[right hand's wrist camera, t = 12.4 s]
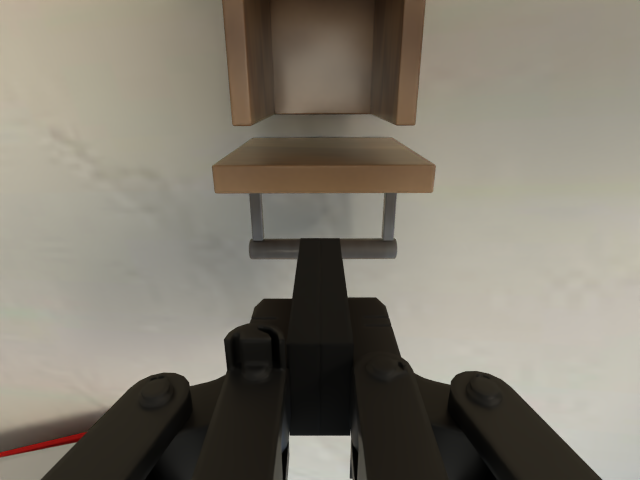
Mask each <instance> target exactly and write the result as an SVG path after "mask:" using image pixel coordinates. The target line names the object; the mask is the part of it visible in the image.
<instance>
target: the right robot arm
mask: <svg viewBox="0 0 640 480" xmlns="http://www.w3.org/2000/svg"><path fill="white" fill-rule="evenodd" d="M224 344H225V353H226V363H227V373H226V375H224V376H222V377H220V378H218V379H216V380H213V381H210V382H207V383H202V384H198V385H194V386H190V385H189V382H188V381H187V379H186V378H185V377H184V376H182V375H179V374H176V373H160V374H156V375H151V376H149V377H147V378H145V379H142V380H140V381H139V382H137V383H136V384H135V385H133V386H132V387H131V388H130V389H129V390H128V391H127V392H126V393H125V394H124V395H123V396H122V397H121V398H120V399H119V400H118V401H117V402H116V403H115V404H114V405H113V406H112V407H111V408H110V409H109V410H108V411H107V412H106V413H105V414H104V415H103V416H102V417H101V418H100V419H99V420H98V421H97V422H96V423H95V424H94V425H93V426H92V427H91V428H90V429H89V430H88V432H87V433H86V434H85V435H84V436H83V437H82V438H81V439H80V440H79V441H78V442H77V443H76V444H75V445H74V446H73V447H72V448H71V449H70V450H69V451H68V452H67V453H66V454H65V455H64V456H63V457H62V458H61V459H60V460H59V461H58V462H57V463H56V464H55V465H54V466H53V467H52V468H51V469H50V470H49V471H48V472H47V473H46V474H45V475H44V477H43V478H42V479H41V480H287V478H288V466H289V431H290V436H350V429H351V460H350V479H353V480H602V479H601V478H600V477H599V476H598V475H597V474H596V473H595V472H594V471H593V470H592V469H591V468H590V467H589V466H588V465H587V464H586V463H585V462H584V461H583V460H582V459H581V458H580V457H579V456H578V455H577V454H576V453H575V452H574V451H573V450H572V448H571V447H570V446H569V445H568V444H567V443H566V442H565V441H564V440H563V439H562V438H561V437H560V436H559V435H558V434H557V433H556V432H555V431H554V430H553V429H552V428H551V427H550V426H549V425H548V424H547V423H546V422H545V421H544V420H543V419H542V418H541V417H540V416H539V415H538V414H537V413H536V412H535V411H534V410H533V409H532V408H531V407H530V406H529V405H528V404H527V403H526V402H525V401H524V400H523V399H522V398H521V397H520V396H519V395H518V394H517V393H516V392H515V391H514V390H513V389H512V388H511V387H510V386H509V385H508V384H506V383H505V382H504V381H503V380H501V379H499V378H497V377H495V376H493V375H490V374H487V373H483V372H478V371H465V372H462V373H460V374H457V375H456V376H455V377H454V378H453V379H452V381H451V385H449V384H444V383H440V382H436V381H432V380H429V379H425V378H423V377H421V376H419V375H417V374H415V373H414V372H413V369H412V368H411V366H410V365H409V363H408V362H407V361H406V360H404V359H403V358H402V357H401V355H400V352H399V349H398V346H397V342H396V339H395V336H394V332H393V329H392V327H391V323H390V319H389V316H388V313H387V310H386V306H385V305H384V304H383V303H381V302H380V301H379V300H378V299H377V298H348V297H347V290H346V282H345V275H344V268H343V260H342V253H341V245H340V238H300V245H299V253H298V260H297V268H296V275H295V282H294V290H293V297H292V299H263V300H262V301H261V302H260V303H259V304H258V305H257V306H256V307H255V308H254V311H253V314H252V319H251V321H250V323H249V324H245V325H242V326H239V327H237V328H235V329H234V330H232V331H231V332H229V333H228V335H227V336H226V337H225V339H224Z"/></svg>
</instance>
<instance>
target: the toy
mask: <svg viewBox="0 0 640 480" xmlns="http://www.w3.org/2000/svg"><path fill="white" fill-rule="evenodd" d="M86 433H87V432H84V433H79V434H75V435H71V436H67V437H63V438H59V439H54V440H50V441H46V442H42V443H38V444H33V445H29V446H25V447H21V448H17V449H12V450H8V451H4V452H0V480H41V479H42V478H43V477H44V475H45V474H46V473H47V472H48V471H49V470H50V469H51V468H52V467H53V466H54V465H55V464H56V463H57V462H58V461H59V460H60V459H61V458H62V457H63V456H64V455H65V454H66V453H67V452H68V451H69V450H70V449H71V448H72V447H73V446H74V445H75V444H76V443H77V442H78V441H79V440H80V439H81V438H82V437H83V436H84V435H85V434H86Z"/></svg>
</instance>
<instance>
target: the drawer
mask: <svg viewBox="0 0 640 480" xmlns="http://www.w3.org/2000/svg"><path fill="white" fill-rule="evenodd" d="M425 2H426V0H222V5H223V17H224V29H225V41H226V53H227V65H228V77H229V89H230V101H231V113H232V124H233V126H251V125H253V124H255V123H257V122H259V121H262V120H264V119H266V118H268V117H270V116H272V115H274V114H372V115H374V116H377V117H379V118H381V119H383V120H386V121H388V122H390V123H393V124H395V125H415V121H416V109H417V97H418V85H419V73H420V62H421V50H422V38H423V26H424V14H425ZM435 168H436V166H435V164H433V163H431V162H430V161H428V160H427V159H425V158H424V157H422V156H420V155H419V154H417V153H416V152H414V151H413V150H411V149H409V148H408V147H406V146H405V145H403V144H401V143H400V142H398V141H397V140H395V139H394V138H252V139H251V140H249V141H248V142H246V143H245V144H243V145H242V146H240V147H239V148H237V149H236V150H235V151H233V152H232V153H230V154H229V155H227V156H226V157H224V158H223V159H221V160H220V161H218V162H217V163H216V164H214V165H213V166H212V171H213V181H214V190H215V193H249V195H250V209H251V223H252V237H253V239H251V240H250V243H249V255H250V258H251V259H298V253H299V245H300V239H264V226H263V209H262V193H384V207H383V224H382V238H356V239H340V245H341V253H342V259H395V258H396V256H397V242H396V239H394V224H395V210H396V196H397V193H432V192H433V187H434V178H435Z"/></svg>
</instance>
